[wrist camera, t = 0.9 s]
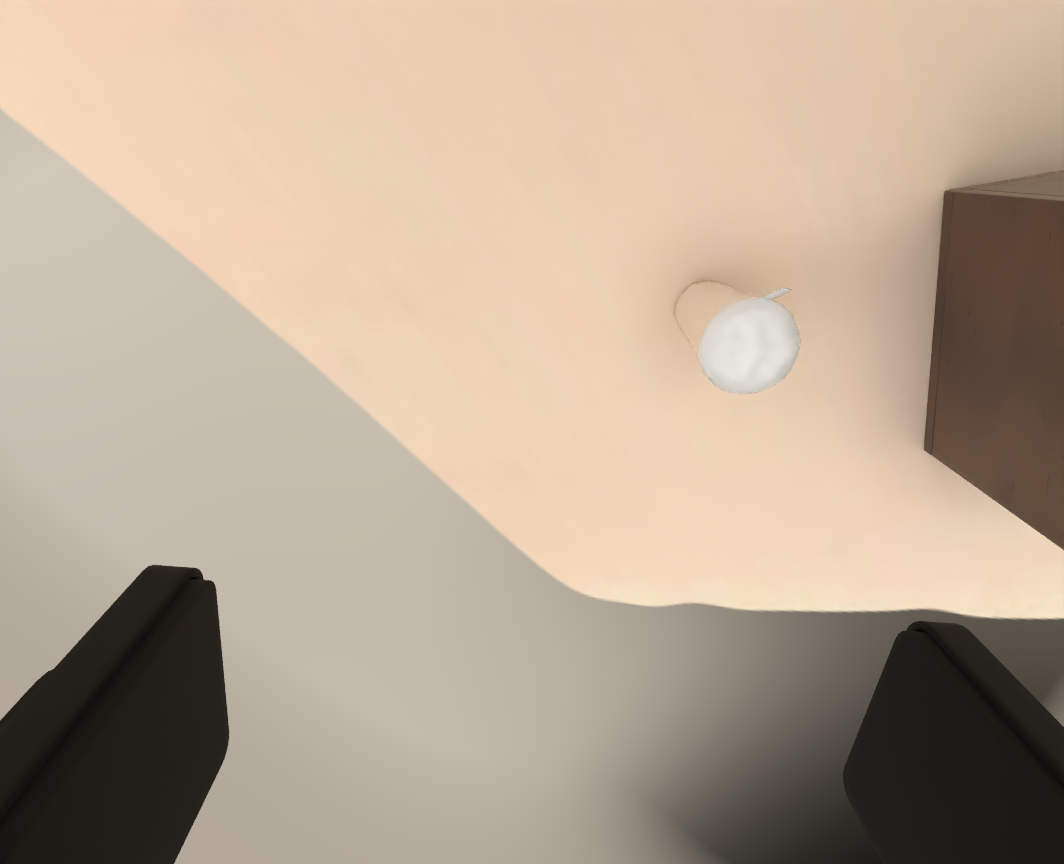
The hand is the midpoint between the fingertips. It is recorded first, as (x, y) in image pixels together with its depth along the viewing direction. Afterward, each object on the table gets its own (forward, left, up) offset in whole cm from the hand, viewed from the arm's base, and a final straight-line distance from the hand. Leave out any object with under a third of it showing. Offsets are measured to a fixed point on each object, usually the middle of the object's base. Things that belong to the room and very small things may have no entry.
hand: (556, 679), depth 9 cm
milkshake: (+3, +10, -30) cm, 32 cm away
